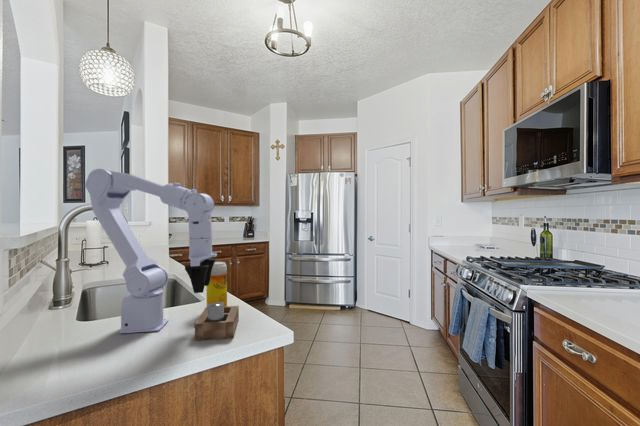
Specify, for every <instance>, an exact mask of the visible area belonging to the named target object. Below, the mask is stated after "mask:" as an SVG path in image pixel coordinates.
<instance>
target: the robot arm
mask: <svg viewBox="0 0 640 426" xmlns="http://www.w3.org/2000/svg"><path fill="white" fill-rule="evenodd" d="M181 185H182V184H181V183H179V182H173V183H167V184H160V183H158V182H155V181H152V180H150V179H147V178H144V177H142V176H140V175H136V174H130V173H126V172H119V171H113V170H106V169H103V168H95V169H93V170H91V171H90V173H89V174H88V175H87V179H86V181H85V184H84V187H85V188H86V190H87V191H88V192H87V193H89V197H90V202H91V210H92V212H93V214H94V215H95V217H96V219H97V220H98V222H99V224H100V225H101V227H102V229H103V230H104V232H105V234H106V236H107V237H108V239H109V240H110V242H111V243H112V245H113V247H114V249H115V250H116V252H117V253H118V255H119V257H120V258H121V260H122V262H123V263H124V265H125V269H124V271H123V272H122V276H123V279H124V281H125V287H126V290H127V292H128V295H125V296H124V297H123V298H122V303H121V306H120V331H119V334H133V333H146V332H147V333H149V332H150V333H151V332H158V331H159V332H160V331H161V330H162V328H163V327H165V325H166V324H168V322H169V319H168V318H164V290H165V289H164V288H165V286H166V285H167V283H168V281H169V274H168V272H167V269H165V268H164V267H162V266H160V264H159V263H158V262H157V260H155V259H154V258H152V257H149V256H148V255H147V253H146V251H145V250H144V248H143V246H142V245H141V243H140V241H139V240H138V238H137V236H136V235H135V233H134V232H133V230H132V229H131V227H130V225H129V223H128V222H127V221H126V219H125V216H124V215H123V214H122V211H121V210H120V206H121V204H122V203H123V202H124V201H125V200H126V198H127V196H128V195H130V192H131V191H132V192H135V191H140V192H143V193H146V194H149V195H153V196H156V197H159V199H160V201H161V203H163V204H165V205H166V206H167V205H168V206H171V207H173V208H176V209H179V210H183V211H185V212H186V213H187V216H188V248H189V249H188V250H189V253H188V259H189V260H190V264H187V265H185V266H184V270H185V272H186V274H187V275H188V277H189V280H190V283H191V287H192V291H193V293H194V294H199V293H204V290H205V287H207V286H208V285H209V283H210V277H211V271H212V268H213V265H214V263H215V262H217V261H216V260H217V259H216V257H217V256H218V253H213V233H212V231H213V229H212V228H213V227H212V226H213V225H212V212H213V210H214V208H215V201H214V199H213V198H212V196H210V195H209V194H208V193H199V192H198V190H197V189H195V188H194V189H193V188H191V189H190V188H186V187H183V186H181Z"/></svg>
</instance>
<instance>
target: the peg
mask: <svg viewBox="0 0 640 426" xmlns="http://www.w3.org/2000/svg"><path fill="white" fill-rule="evenodd" d="M206 307H207V322H216V321H224V303H222V302H214V303H210V304H208V305H207V304H206Z"/></svg>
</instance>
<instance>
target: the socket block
mask: <svg viewBox="0 0 640 426" xmlns="http://www.w3.org/2000/svg"><path fill="white" fill-rule="evenodd" d="M239 309H240V308H239V305H229V306H228V305H227V306H225V307H224V321H216V322H207V306H206V307H205V308H204V309H203V312H201V314H200V316H198V319H197V320H196V321H195V323H194V340H195V341H196V342H197V341H206V340H207V341H208V340H210V341H211V340H224V339H234V338H235V334H236V330H237V327H238V323H239V314H240V312H239Z"/></svg>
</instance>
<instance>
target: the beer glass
mask: <svg viewBox="0 0 640 426" xmlns="http://www.w3.org/2000/svg"><path fill="white" fill-rule="evenodd" d="M214 302H222V303H224V307H225V306H228V267H227V264H226V262H225V261H215V263H214V265H213V268H212V271H211V277H210V283H209V285H208V286H206V306H207V305H208V304H210V303H214Z"/></svg>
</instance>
